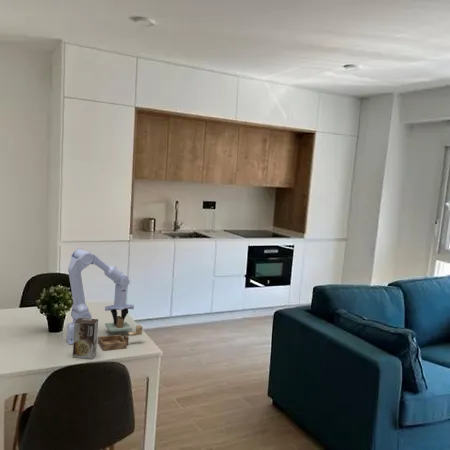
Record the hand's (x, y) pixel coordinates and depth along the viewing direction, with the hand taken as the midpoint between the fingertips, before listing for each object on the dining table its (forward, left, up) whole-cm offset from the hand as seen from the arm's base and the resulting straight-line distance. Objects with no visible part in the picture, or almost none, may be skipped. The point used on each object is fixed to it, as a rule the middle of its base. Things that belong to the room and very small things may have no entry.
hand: (118, 323), depth 229 cm
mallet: (+4, -15, -1) cm, 16 cm away
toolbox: (-7, -15, -5) cm, 17 cm away
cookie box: (-21, -23, -5) cm, 32 cm away
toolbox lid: (0, 0, -2) cm, 2 cm away
